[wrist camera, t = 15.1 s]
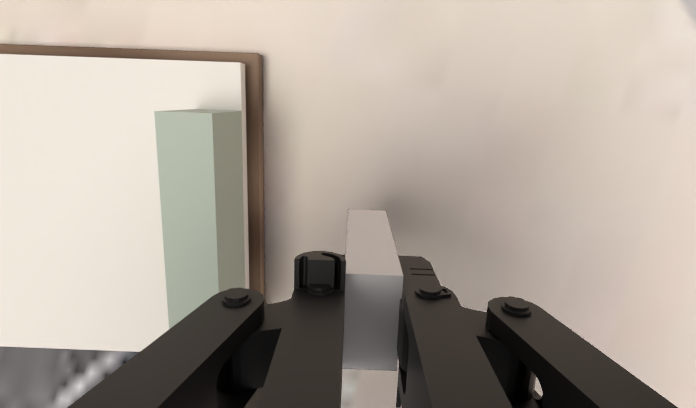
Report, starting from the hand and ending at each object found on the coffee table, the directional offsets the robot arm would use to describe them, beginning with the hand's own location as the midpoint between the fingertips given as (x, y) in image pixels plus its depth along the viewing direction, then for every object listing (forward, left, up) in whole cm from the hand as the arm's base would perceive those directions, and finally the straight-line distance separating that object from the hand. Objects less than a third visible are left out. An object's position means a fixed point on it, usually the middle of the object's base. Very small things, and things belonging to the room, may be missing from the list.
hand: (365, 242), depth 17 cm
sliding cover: (0, +13, -3) cm, 13 cm away
